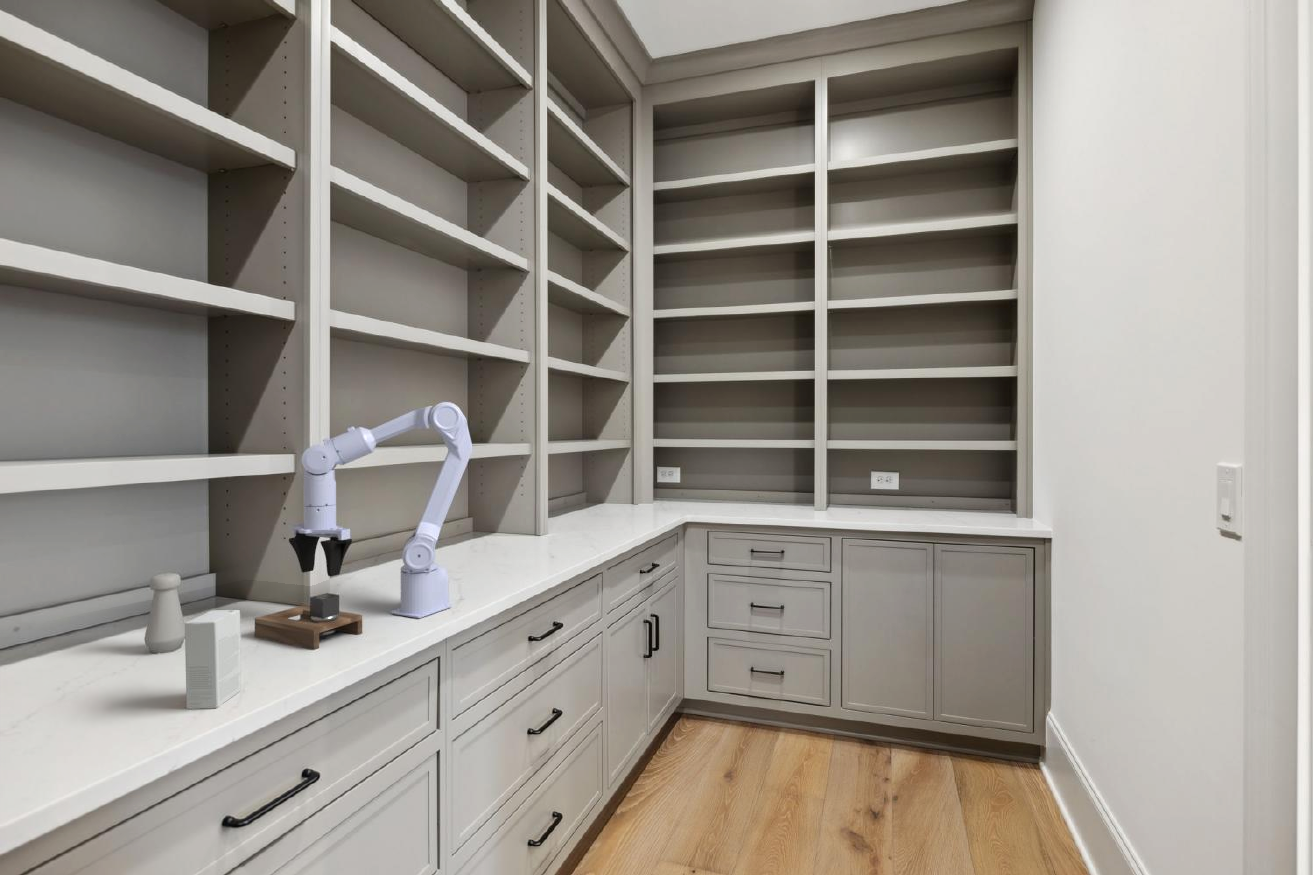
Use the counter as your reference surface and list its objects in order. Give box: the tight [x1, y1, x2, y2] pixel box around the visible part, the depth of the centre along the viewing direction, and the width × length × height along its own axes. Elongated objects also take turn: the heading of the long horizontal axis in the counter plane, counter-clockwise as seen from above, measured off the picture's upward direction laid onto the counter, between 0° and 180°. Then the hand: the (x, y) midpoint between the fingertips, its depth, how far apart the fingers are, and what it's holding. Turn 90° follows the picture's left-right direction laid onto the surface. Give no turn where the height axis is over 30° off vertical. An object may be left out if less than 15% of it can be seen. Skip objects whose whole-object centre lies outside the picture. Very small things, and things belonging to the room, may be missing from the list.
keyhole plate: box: [254, 604, 363, 650], centre depth 120 cm, size 10×16×3 cm, turn 65°
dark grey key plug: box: [309, 592, 340, 636], centre depth 118 cm, size 4×4×7 cm
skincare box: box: [184, 609, 242, 710], centre depth 91 cm, size 6×4×12 cm
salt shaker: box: [143, 572, 185, 654], centre depth 111 cm, size 6×6×13 cm
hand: (320, 573), depth 128 cm, fingers open, 7 cm apart
